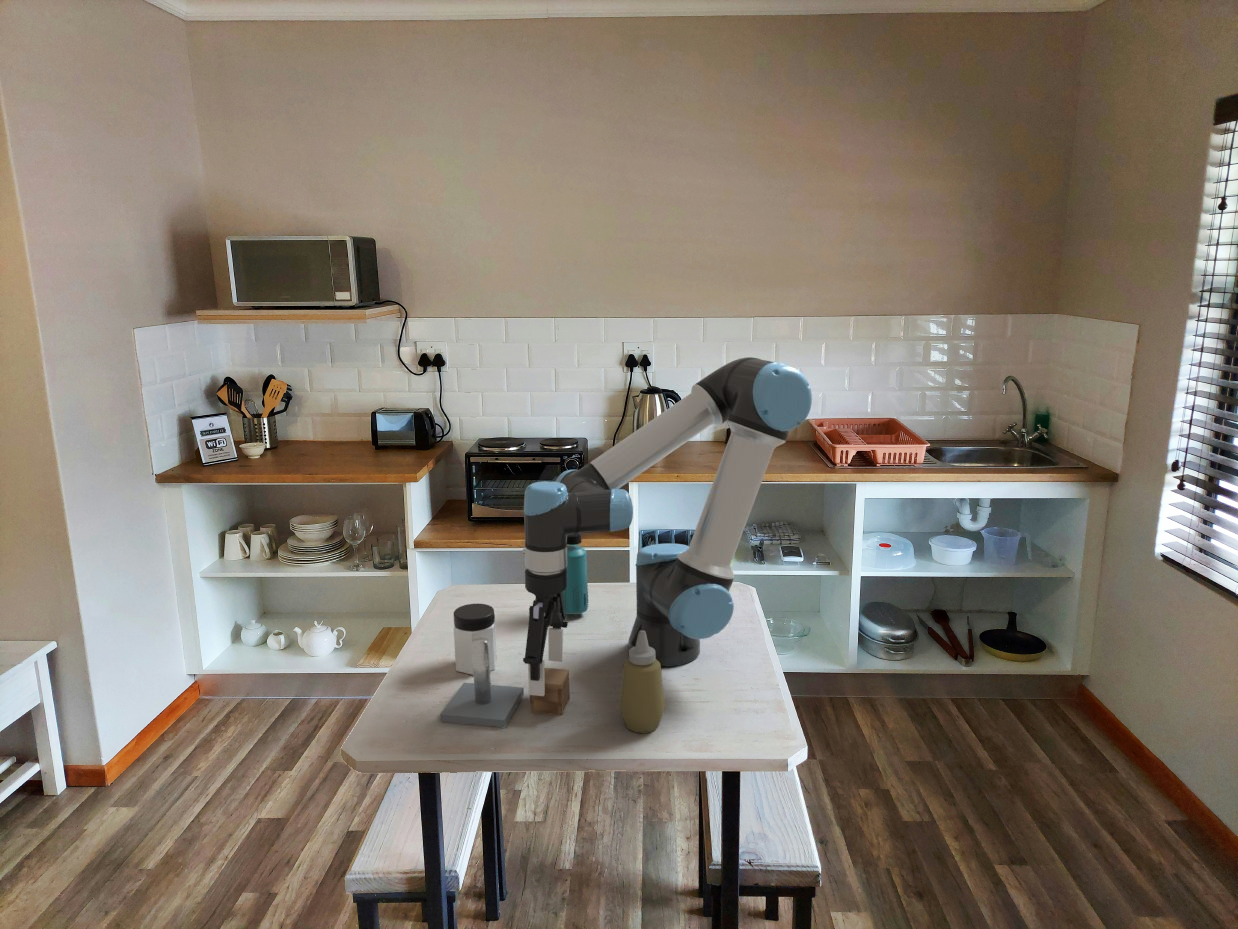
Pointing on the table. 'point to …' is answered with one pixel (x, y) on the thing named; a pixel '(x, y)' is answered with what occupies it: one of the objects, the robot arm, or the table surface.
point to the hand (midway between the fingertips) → (546, 677)
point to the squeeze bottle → (642, 688)
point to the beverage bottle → (576, 577)
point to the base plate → (482, 706)
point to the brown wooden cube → (552, 693)
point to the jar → (473, 634)
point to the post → (481, 670)
